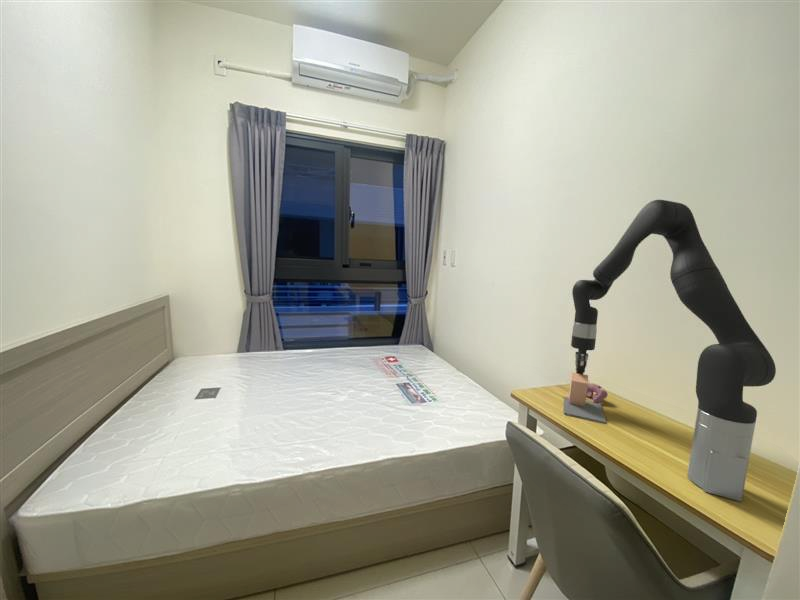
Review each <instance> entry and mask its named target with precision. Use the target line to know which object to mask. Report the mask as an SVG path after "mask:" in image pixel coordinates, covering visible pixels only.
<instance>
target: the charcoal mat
mask: <svg viewBox="0 0 800 600" xmlns="http://www.w3.org/2000/svg"><path fill="white" fill-rule="evenodd" d="M604 413H605V412H604V410H603V407H602V403H599V404H598V403H593V401H587V400H586V401H585V407H584V406H580V405H575V404H570V403H569V396H563V415H564V414H565V415H566V416H569V417H573V418H578V419H583V420H587V421H592V422H596V423H600V424H607V420H606V417H605V414H604Z"/></svg>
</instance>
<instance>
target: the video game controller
mask: <svg viewBox="0 0 800 600" xmlns="http://www.w3.org/2000/svg"><path fill="white" fill-rule="evenodd" d="M594 393H595V394H594ZM586 397H588V398H590V397H591V398H592V399H593V401H592V402H593V403H598V404H602V402H603V401H604V400H605V399H607V397H608V392H607V391H606V390H605V389H604V388H603V387H602V386H601V385H599V384H596V383H592V382H589V381H588V389H587V395H586Z"/></svg>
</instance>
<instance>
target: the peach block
mask: <svg viewBox="0 0 800 600" xmlns="http://www.w3.org/2000/svg"><path fill="white" fill-rule="evenodd" d="M588 382H589V375H588V374H584V373H583V374H578V373H576V372H571V378H570V383H569V384H570V385H569V392H568V397H569V403H570V404H575V405H580V406H584V407H585V401H587V400H586V399H587V389H588Z"/></svg>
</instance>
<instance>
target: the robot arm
mask: <svg viewBox="0 0 800 600" xmlns="http://www.w3.org/2000/svg"><path fill="white" fill-rule="evenodd" d="M651 235H659V236H662V237H663V238H664V239H665V240H666V242H667V244H668V246H669V247H670V249H671V253H672V261H671V266H670V274H669V275H670V277H669V278H670V281H671V283H672V285H673V287H674V290H675V292H676V295H677V297H678V298H679V300H680V301H681V303H682V304H683V305H684V307H686V308H687V310H689V311H690V312H691V313H692V314H694V316H695V317H697V318H698V319H699V320H700V321H702V322H703V323H704V324H705V325H706V326H707V327H708V328H709V329H710V331H711V332H712V333H713V335H714V337H715V338H716V340H717V342H718V343H714V344H710V345H707V346H706V347H705V348H704V349H703V350H702V351H701V353H700V355H699V358H698V361H697V368H696V370H697V371H696V382H695V394H696V398H697V400H698V401H697V402H698V403H697V413H696V418H695V421H694V422H695V423H694V430H693V436H692V442H691V450H690V455H689V462H688V469H687V477H688V479H689V480H690V482H692V483H693V484H695V485H696V486H697V487H699V488H700V489H702V491H704V492H706V493H709V494H712V495H716V496H719V497H723V498H727V499H730V500H734V501H738V502H742V500H743V496H744V490H745V485H746V480H747V479H746V478H747V473H748V468H749V463H750V456H751V451H752V444H753V439H754V434H755V428H756V422H757V417H758V410H757V409H756V408H755V406H753V405H751V404H749V403H748V402H745V401H744V399H743V398H744V387H762V386H766V385H768V384H770V383H772V381H773V380H774V378H775V377H776V372H777V369H776V363H775V361H774V359H773V357H772V355H771V353H770V352H769V350H768V349H767V347H766V346H765V345H764V343H763V342H762V341H761V339H760V337H759V336H758V335H757V334H756V332H755V330H753V328H752V326H751V325H750V324H749V322H748V320H747V319H746V317H745V316H744V314H743V312H742V310H741V309H740V306H739V305H738V303H737V301H736V299H735V298H734V297H733V294H732V293H731V291H730V288H729V287H728V285H727V283H726V281H725V279H724V277H723V275H722V273H721V272H720V269H719V268H718V267H717V265H716V263H715V262H714V260H713V257H712V256H711V254H710V251H709V250H708V248H707V246H706V245H705V242H704V241H703V239H702V236H701V234H700V231H699V228H698V224H697V223H696V220H695V217H694V213H692V210H691V209H690V208H689V206H687V205H686V204H683V203H682V202H681V203H680V202H677V201H672V200H666V199H655V200H651V201H650V202H648V203H646V205H644V206H643V207H642V208H641V210H640V211H639V212H638V213H637V214H636V216H635V217H634V218H633V221H632V222H631V223H630V225H628V228H626V231H625V232H624V233H623V235H622V236H621V238H620V239H619V240H618V243H616V245H615V246H614V248H613V249H612V250H611V251H610V252H609V253H608V254H607V256H605V258H604V259H603V260H602V261H601V262H599V264H598V265H597V266H596V267H595V269H594V270H593V271H592V275H593V278H594V279H591V280H589V279H579V280H578V281H576V282H575V283H574V285H573V287H572V292H571V295H572V299H573V307H574V309H575V314H574V322H573V326H572V333H571V339H570V340H571V342H570V346H571V347H572V348H574V349H578V350H577V351H575V353H574V355H575V361H574V363H575V373H578V374H584V373H585V371H586V368H587V364H588V363H587V362H588V360H589V353H587V352H588V351H595V348H596V341H597V330H598V329H597V327H598V326H597V324H598V315H599V310H598V309H597V308H596V307H594V306H591V301H597V300H600V299H602V298H604V297H605V296H606V295H607V294H608V292H609V291H610V289H611V287H612V285H613V284H614V282H615V281H616V280H617V279H618V278H620V277H621V276H622V274H623V273H625V271H627V269H629V267H630V265H631V263H632V261H633V259H634V256H635V252H636V250H637V248H638V247H639V245H640V244H641V243H642V242H643V241H645V240H646V238H648V237H649V236H651Z"/></svg>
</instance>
